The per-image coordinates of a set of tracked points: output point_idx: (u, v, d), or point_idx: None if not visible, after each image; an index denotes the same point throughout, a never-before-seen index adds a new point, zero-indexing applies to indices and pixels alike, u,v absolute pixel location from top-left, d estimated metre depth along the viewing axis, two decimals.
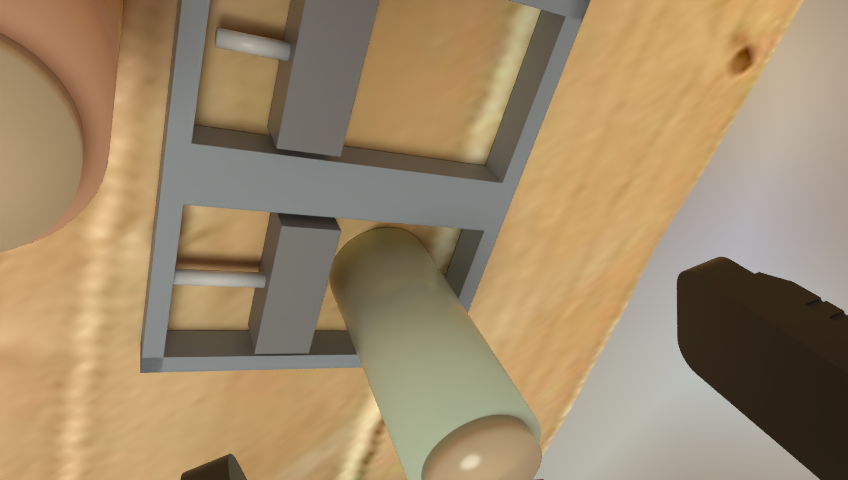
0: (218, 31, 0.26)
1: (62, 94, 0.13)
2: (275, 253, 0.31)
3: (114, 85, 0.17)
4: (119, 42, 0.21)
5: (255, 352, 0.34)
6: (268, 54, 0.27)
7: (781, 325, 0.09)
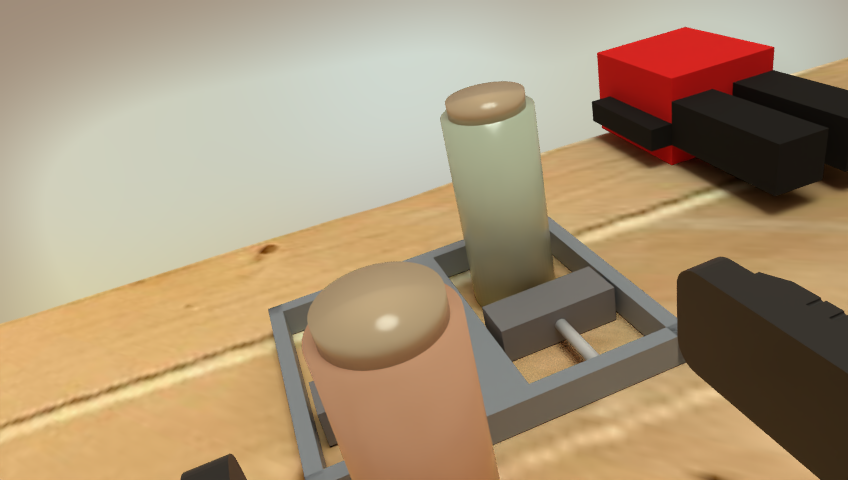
0: None
1: None
2: (525, 323, 0.39)
3: None
4: None
5: (612, 287, 0.40)
6: None
7: (781, 325, 0.09)
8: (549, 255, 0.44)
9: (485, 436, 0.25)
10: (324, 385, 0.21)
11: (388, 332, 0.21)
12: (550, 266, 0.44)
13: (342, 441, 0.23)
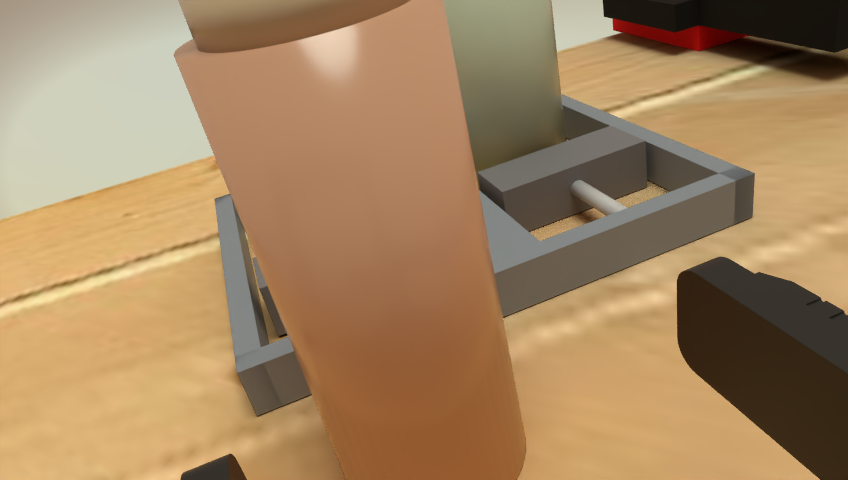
0: None
1: None
2: (533, 183, 0.30)
3: None
4: None
5: (643, 141, 0.32)
6: None
7: (781, 325, 0.09)
8: (560, 116, 0.35)
9: (480, 225, 0.16)
10: (202, 91, 0.13)
11: None
12: (562, 131, 0.35)
13: (247, 214, 0.14)
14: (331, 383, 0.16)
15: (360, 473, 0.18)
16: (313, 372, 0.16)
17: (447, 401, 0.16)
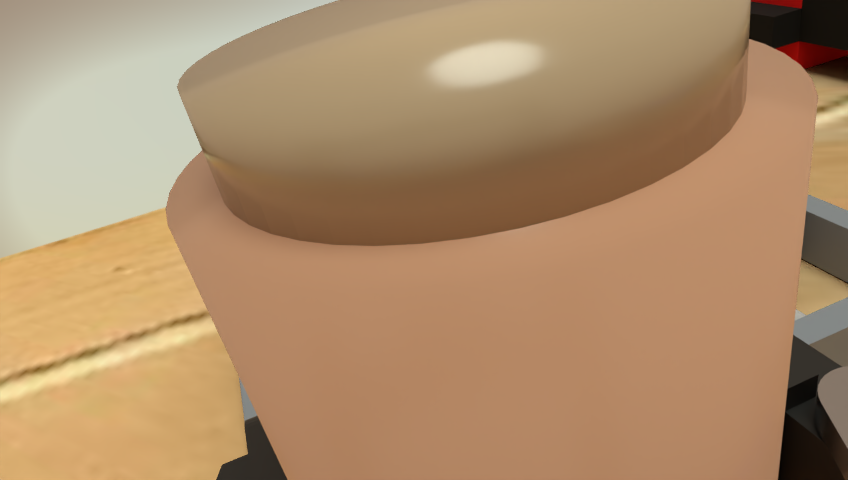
0: None
1: None
2: None
3: None
4: None
5: None
6: None
7: None
8: None
9: None
10: (239, 328, 0.05)
11: (543, 44, 0.04)
12: None
13: None
14: None
15: None
16: None
17: None
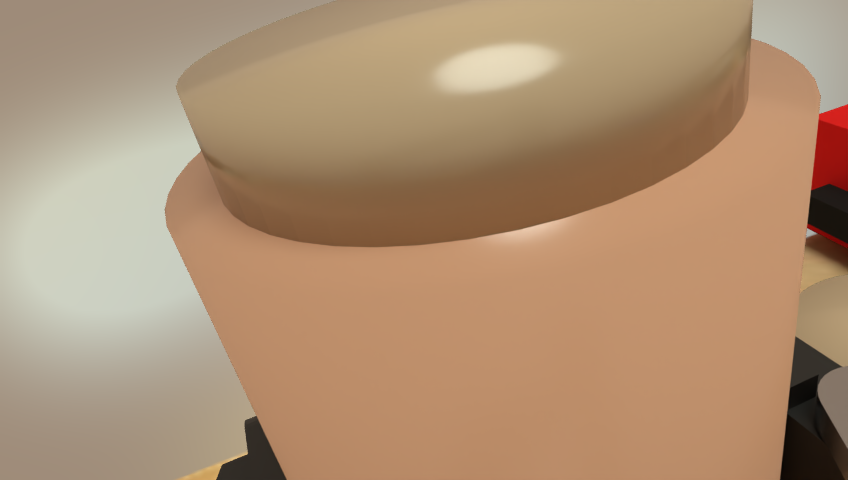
0: None
1: None
2: None
3: None
4: None
5: None
6: None
7: None
8: None
9: None
10: (238, 331, 0.05)
11: (544, 44, 0.04)
12: None
13: None
14: None
15: None
16: None
17: None
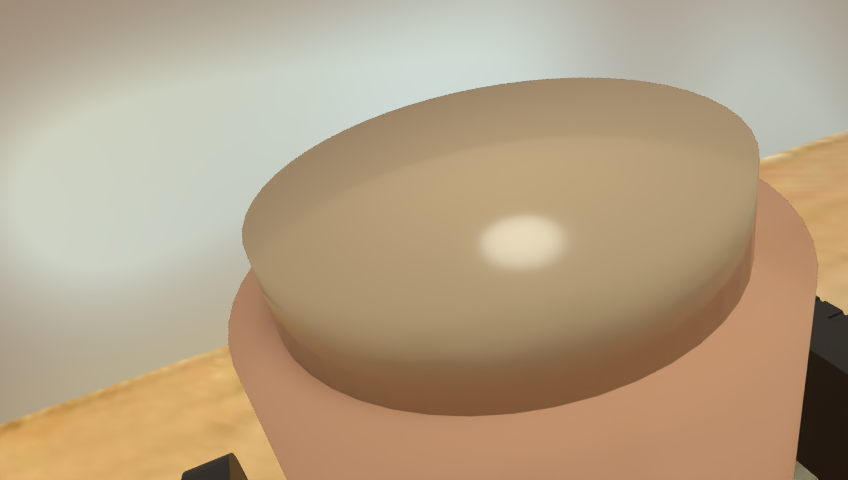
0: None
1: None
2: None
3: None
4: None
5: None
6: None
7: None
8: None
9: None
10: (301, 471, 0.06)
11: (578, 248, 0.05)
12: None
13: None
14: None
15: None
16: None
17: None
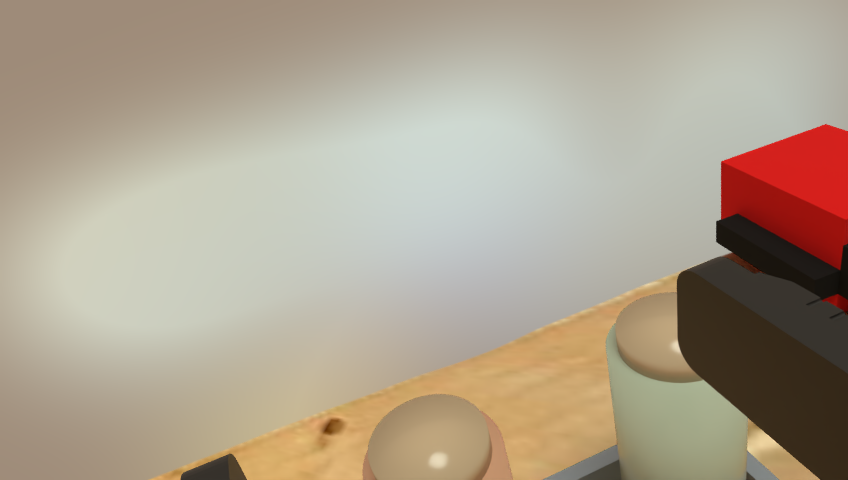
0: None
1: None
2: None
3: None
4: None
5: None
6: None
7: (781, 325, 0.09)
8: None
9: None
10: None
11: (441, 475, 0.24)
12: None
13: None
14: None
15: None
16: None
17: None
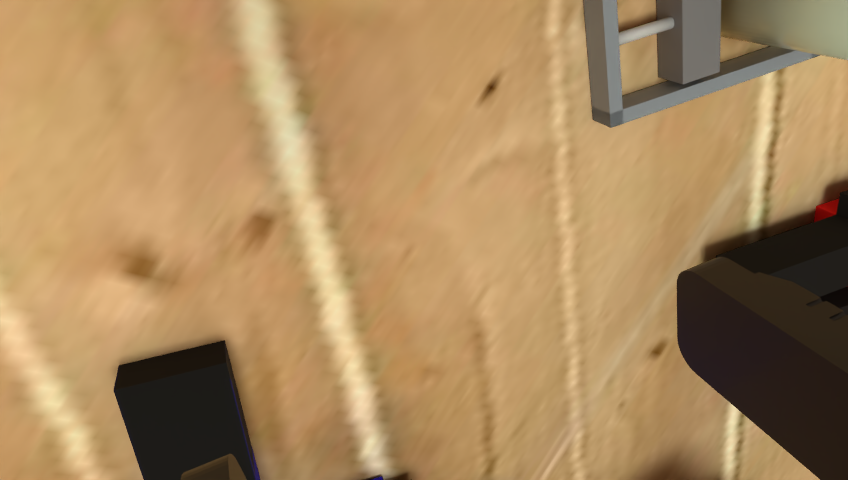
0: None
1: None
2: None
3: None
4: None
5: (683, 82, 0.43)
6: None
7: (781, 325, 0.09)
8: (750, 38, 0.42)
9: None
10: None
11: None
12: (740, 35, 0.43)
13: None
14: None
15: None
16: None
17: None
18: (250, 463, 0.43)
